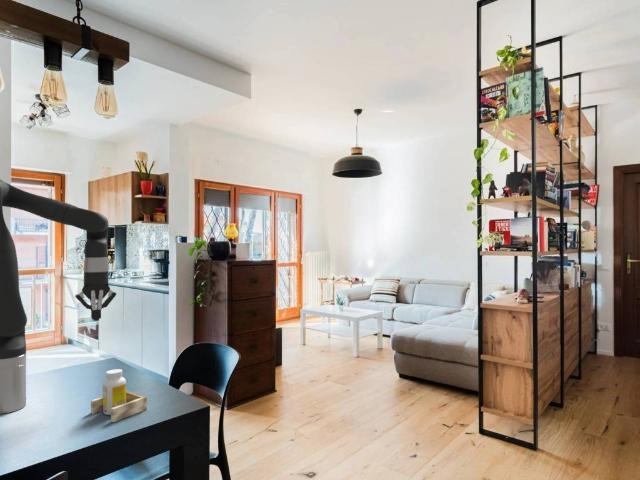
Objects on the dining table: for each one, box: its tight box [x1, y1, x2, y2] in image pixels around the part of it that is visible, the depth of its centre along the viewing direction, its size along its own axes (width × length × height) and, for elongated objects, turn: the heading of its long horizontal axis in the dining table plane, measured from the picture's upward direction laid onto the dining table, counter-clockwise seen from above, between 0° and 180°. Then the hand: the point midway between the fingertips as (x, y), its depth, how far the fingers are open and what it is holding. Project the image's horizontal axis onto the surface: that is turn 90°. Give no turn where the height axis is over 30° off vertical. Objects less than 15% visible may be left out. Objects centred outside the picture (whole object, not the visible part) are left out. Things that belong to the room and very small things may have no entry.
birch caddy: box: [90, 389, 148, 423], centre depth 129 cm, size 11×12×4 cm
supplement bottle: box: [102, 368, 127, 416], centre depth 129 cm, size 7×7×13 cm
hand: (96, 320), depth 140 cm, fingers closed
